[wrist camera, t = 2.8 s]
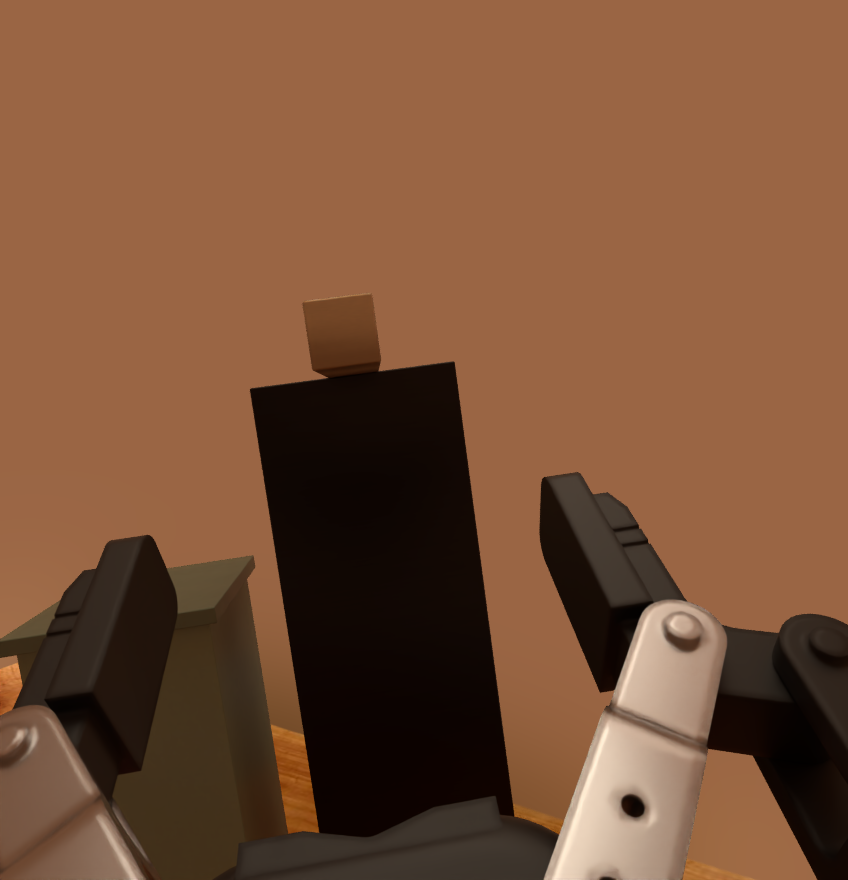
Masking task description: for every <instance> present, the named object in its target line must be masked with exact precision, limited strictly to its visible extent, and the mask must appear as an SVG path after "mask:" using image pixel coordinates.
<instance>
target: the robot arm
mask: <svg viewBox="0 0 848 880" xmlns="http://www.w3.org/2000/svg"><path fill="white" fill-rule="evenodd" d="M540 543H541V548H542V552H543V556H544V559H545V562H546V564H547V567H548V569H549V571H550V574H551V576H552V579H553V581H554V584H555V586H556V588H557V590H558V593H559V596H560V598H561V600H562V603H563V605H564V607H565V610H566V612H567V615H568V617H569V619H570V622H571V624H572V627H573V629H574V631H575V633H576V636H577V639H578V641H579V643H580V646H581V648H582V651H583V653H584V655H585V658H586V660H587V663H588V665H589V667H590V670H591V672H592V675H593V677H594V679H595V682H596V684H597V686H598V689H599V691H600V693H601V692H607V691H613V690H615V691H614V695H613V697H612V700H611V703H610V705H609V706H606V708H605V709H604V711H603V713H602V716H601V719H600V721H599V724H598V727H597V730H596V733H595V735H594V738H593V741H592V744H591V747H590V750H589V752H588V755H587V758H586V761H585V764H584V767H583V770H582V772H581V775H580V778H579V781H578V784H577V786H576V789H575V792H574V795H573V798H572V801H571V803H570V806H569V809H568V812H567V815H566V818H565V820H564V823H563V826H562V829H561V832H560V835H558V834H557V833H555V832H553V831H551V830H549V829H547V828H545V827H544V826H542V825H539V824H536V823H534V822H531V821H529V820H525V819H521V818H517V817H513V816H506V815H500V814H499V810H498V805H497V801H496V796H492V797H486V798H481V799H475V800H470V801H465V802H459V803H454V804H448V805H443V806H438V807H433V808H431V809H429V810H427V811H425V812H423V813H421V814H419V815H417V816H415V817H412V818H410V819H408V820H406V821H404V822H402V823H400V824H398V825H396V826H394V827H392V828H390V829H388V830H386V831H384V832H381V833H379V834H377V835H375V836H372V837H355V836H345V835H335V834H324V833H314V832H304V831H302V832H297V833H292V834H286V835H281V836H275V837H270V838H265V839H259V840H254V841H248V842H243V843H239V844H238V855H237V865H236V866H234V867H232V868H230V869H228V870H227V871H225V872H223V873H222V874H220V875H219V876H217V877H216V878H214V879H213V880H682V879H683V874H684V869H685V864H686V859H687V854H688V849H689V844H690V839H691V834H692V829H693V824H694V819H695V813H696V809H697V804H698V799H699V794H700V789H701V784H702V779H703V774H704V769H705V764H706V759H707V753H708V749H714V750H720V751H726V752H733V753H740V754H746V755H753V757H754V759H755V761H756V762H757V765H758V766H759V769H760V770H761V772H762V774H763V776H764V778H765V780H766V782H767V784H768V786H769V788H770V789H771V791H772V793H773V795H774V797H775V799H776V801H777V803H778V805H779V807H780V809H781V811H782V813H783V814H784V816H785V818H786V820H787V822H788V824H789V826H790V828H791V830H792V832H793V834H794V835H795V837H796V839H797V841H798V843H799V845H800V847H801V849H802V851H803V853H804V855H805V856H806V858H807V860H808V862H809V864H810V866H811V868H812V870H813V872H814V874H815V876H816V878H817V880H848V625H847V624H845V623H843V622H841V621H839V620H836V619H834V618H831V617H827V616H822V615H817V614H802V615H796V616H794V617H791V618H790V619H788V620H787V621H786V622H785V623H784V624H783V625H782V627H781V629H780V632H779V633H771V632H763V631H754V630H745V629H737V628H731V627H727V626H724V625H721V623H720V622H719V621H718V620H717V619H716V618H715V617H714V616H713V615H712V614H711V613H710V612H708V611H707V610H705V609H704V608H702V607H700V606H698V605H695V604H693V603H690V602H687V600H686V599H685V598H684V597H683V595H682V593H681V591H680V590H679V588H678V587H677V585H676V584H675V582H674V580H673V579H672V577H671V576H670V574H669V572H668V571H667V569H666V568H665V566H664V564H663V563H662V561H661V560H660V558H659V557H658V555H657V553H656V552H655V550H654V549H653V547H652V545H651V544H649V543H648V539H647V538H646V536H645V535H644V533H643V531H642V530H641V529H639V525H638V523H637V522H636V520H635V519H634V517H633V515H632V514H631V512H630V511H629V509H628V507H627V506H625V505H624V504H623V503H621V502H620V501H619V500H617V499H616V498H614V497H613V496H612V495H610V494H609V493H608V492H607V493H600V494H594V495H593V494H592V492H591V491H590V489H589V488H588V486H587V484H586V482H585V480H584V478H583V477H582V476H581V474H580V473H578V472H575V473H569V474H563V475H555V476H549V477H544V478H543V479H542V482H541V503H540ZM177 613H178V602H177V594H176V590H175V587H174V584H173V582H172V580H171V577H170V575H169V573H168V570H167V568H166V566H165V563H164V561H163V559H162V557H161V554H160V552H159V550H158V547H157V545H156V543H155V541H154V539H153V538H152V537H151V536H150V535H144V536H138V537H131V538H124V539H118V540H111V541H109V542H108V543H107V544H106V546H105V548H104V551H103V553H102V556H101V558H100V561H99V563H98V566H97V568H96V569H92V570H85V571H83V572H82V573H81V574H80V575H79V576H78V578H77V579H76V580H75V581H74V582H73V583H72V584H71V585H70V586H69V588H67V590H66V591H65V592H64V594H63V596H62V598H61V600H60V603H59V605H58V607H57V610H56V612H55V614H54V616H55V619H52V621H51V623H50V626H49V628H48V630H47V632H46V635H47V636H46V638H44V639H43V641H42V644H41V646H40V648H39V651H38V653H37V655H36V657H35V660H34V662H33V664H32V667H31V669H30V671H29V673H28V676H27V678H26V680H25V682H24V685H23V687H22V689H21V692H20V694H19V696H18V698H17V701H16V703H15V705H14V707H13V709H12V710H11V711H9V712H7V713H5V714H3V715H1V716H0V880H162V879H161V877H160V875H159V874H158V872H157V870H156V869H155V867H154V865H153V864H152V862H151V860H150V858H149V857H148V855H147V853H146V852H145V850H144V848H143V846H142V845H141V843H140V841H139V840H138V838H137V836H136V834H135V833H134V831H133V829H132V828H131V826H130V824H129V822H128V821H127V819H126V817H125V816H124V814H123V812H122V810H121V809H120V807H119V805H118V804H117V802H116V800H115V799H114V797H113V796H112V795H113V792H114V788H115V784H116V780H117V776H118V775H121V774H127V773H133V772H138V771H141V770H142V766H143V761H144V757H145V753H146V748H147V744H148V740H149V735H150V731H151V727H152V723H153V718H154V714H155V710H156V705H157V701H158V697H159V693H160V688H161V684H162V680H163V675H164V671H165V667H166V663H167V658H168V654H169V650H170V645H171V641H172V637H173V633H174V628H175V624H176V620H177Z"/></svg>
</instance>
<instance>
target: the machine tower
mask: <svg viewBox="0 0 848 880" xmlns="http://www.w3.org/2000/svg"><path fill="white" fill-rule="evenodd" d="M250 393H251V399H252V406H253V413H254V419H255V425H256V431H257V438H258V444H259V451H260V457H261V464H262V470H263V476H264V483H265V489H266V495H267V501H268V508H269V514H270V520H271V527H272V533H273V540H274V546H275V553H276V558H277V565H278V572H279V578H280V585H281V591H282V597H283V604H284V610H285V616H286V623H287V629H288V636H289V642H290V647H291V655H292V661H293V667H294V674H295V680H296V686H297V692H298V699H299V705H300V712H301V718H302V725H303V731H304V737H305V744H306V750H307V757H308V763H309V769H310V776H311V782H312V788H313V795H314V801H315V808H316V814H317V820H318V827H319V833H324V834H335V835H345V836H355V837H372V836H375V835H377V834H379V833H381V832H384V831H386V830H388V829H390V828H392V827H394V826H396V825H398V824H400V823H402V822H404V821H406V820H408V819H410V818H412V817H415V816H417V815H419V814H421V813H423V812H425V811H427V810H429V809H431V808H433V807H438V806H443V805H448V804H454V803H459V802H465V801H470V800H475V799H481V798H486V797H492V796H496V801H497V805H498V810H499V814H500V815H506V816H513V817H514V809H513V802H512V794H511V787H510V779H509V772H508V765H507V756H506V749H505V741H504V734H503V726H502V718H501V711H500V703H499V696H498V688H497V680H496V673H495V665H494V657H493V650H492V643H491V635H490V627H489V621H488V612H487V604H486V597H485V590H484V582H483V575H482V567H481V559H480V551H479V544H478V536H477V529H476V521H475V514H474V506H473V498H472V491H471V483H470V476H469V468H468V460H467V453H466V445H465V437H464V430H463V423H462V415H461V407H460V400H459V392H458V384H457V377H456V369H455V362H445V363H437V364H430V365H422V366H415V367H408V368H400V369H393V370H385V371H378V372H370V373H363V374H355V375H348V376H340V377H333V378H326V379H319V380H311V381H303V382H295V383H288V384H280V385H273V386H265V387H258V388H251V389H250Z"/></svg>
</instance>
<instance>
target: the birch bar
mask: <svg viewBox="0 0 848 880" xmlns="http://www.w3.org/2000/svg"><path fill="white" fill-rule="evenodd" d="M303 311H304V317H305V324H306V331H307V337H308V344H309V351H310V357H311V364H312V369H313V371H315V372H317V373H320V374H322V375H324V376H326V377H328V378H333V377H340V376H348V375H355V374H363V373H370V372H378V370H379V366H380V362H381V355H380V349H379V341H378V334H377V327H376V320H375V313H374V305H373V298H372V294H371V293H365V294H357V295H350V296H341V297H333V298H326V299H317V300H309V301H304V302H303Z"/></svg>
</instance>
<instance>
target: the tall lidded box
mask: <svg viewBox="0 0 848 880" xmlns="http://www.w3.org/2000/svg"><path fill="white" fill-rule="evenodd" d="M254 568H255V563H254V557H253V556H246V557H240V558H233V559H227V560H220V561H213V562H207V563H201V564H194V565H187V566H181V567H174V568H168V569H167V570H168V573H169V575H170V577H171V580H172V582H173V584H174V587H175V590H176V594H177V602H178V613H177V620H176V624H175V628H174V633H173V637H172V641H171V645H170V650H169V654H168V658H167V663H166V667H165V671H164V675H163V680H162V684H161V688H160V693H159V697H158V701H157V705H156V710H155V714H154V718H153V723H152V727H151V731H150V735H149V740H148V744H147V748H146V753H145V757H144V761H143V766H142V770H141V771H138V772H133V773H127V774H121V775H118V776H117V780H116V784H115V788H114V792H113V795H112V796H113V797H114V799H115V800H116V802H117V804H118V805H119V807H120V809H121V810H122V812H123V814H124V816H125V817H126V819H127V821H128V822H129V824H130V826H131V828H132V829H133V831H134V833H135V834H136V836H137V838H138V840H139V841H140V843H141V845H142V846H143V848H144V850H145V852H146V853H147V855H148V857H149V858H150V860H151V862H152V864H153V865H154V867H155V869H156V870H157V872H158V874H159V875H160V877H161V879H162V880H213V879H214V878H216V877H217V876H219V875H220V874H222V873H223V872H225V871H227V870H228V869H230V868H232V867H234V866H236V865H237V855H238V844H239V843H243V842H248V841H254V840H259V839H265V838H270V837H275V836H281V835H286V834H288V831H287V825H286V818H285V812H284V806H283V800H282V794H281V787H280V781H279V775H278V769H277V763H276V756H275V750H274V744H273V738H272V731H271V725H270V719H269V713H268V707H267V700H266V694H265V688H264V682H263V676H262V669H261V663H260V658H259V651H258V645H257V638H256V632H255V626H254V620H253V614H252V607H251V602H250V595H249V589H248V582H247V578H248V577H249V575H250V574H251V572H252V571H253V569H254ZM59 603H60V601H58V602H57V603H55V604H54V605H52V606H51V607H49V608H47V609H46V610H44V611H43V612H42V613H40V614H38V615H37V616H35V617H34V618H32V619H31V620H29V621H27V622H26V623H25V624H23V625H21V626H20V627H18V628H17V629H15V630H14V631H12V632H10V633H9V634H7V635H6V636H4V637H3V638H1V639H0V658H2V657H8V656H14V655H17V658H18V664H19V669H20V674H21V679H22V684H23V685H24V682H25V680H26V678H27V676H28V673H29V671H30V669H31V667H32V664H33V662H34V660H35V657H36V655H37V653H38V651H39V648H40V646H41V644H42V641H43V639H44V638H46V636H47V635H46V632H47V630H48V628H49V626H50V623H51V621H52V619H55V616H54V614H55V612H56V610H57V607H58V605H59Z"/></svg>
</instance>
